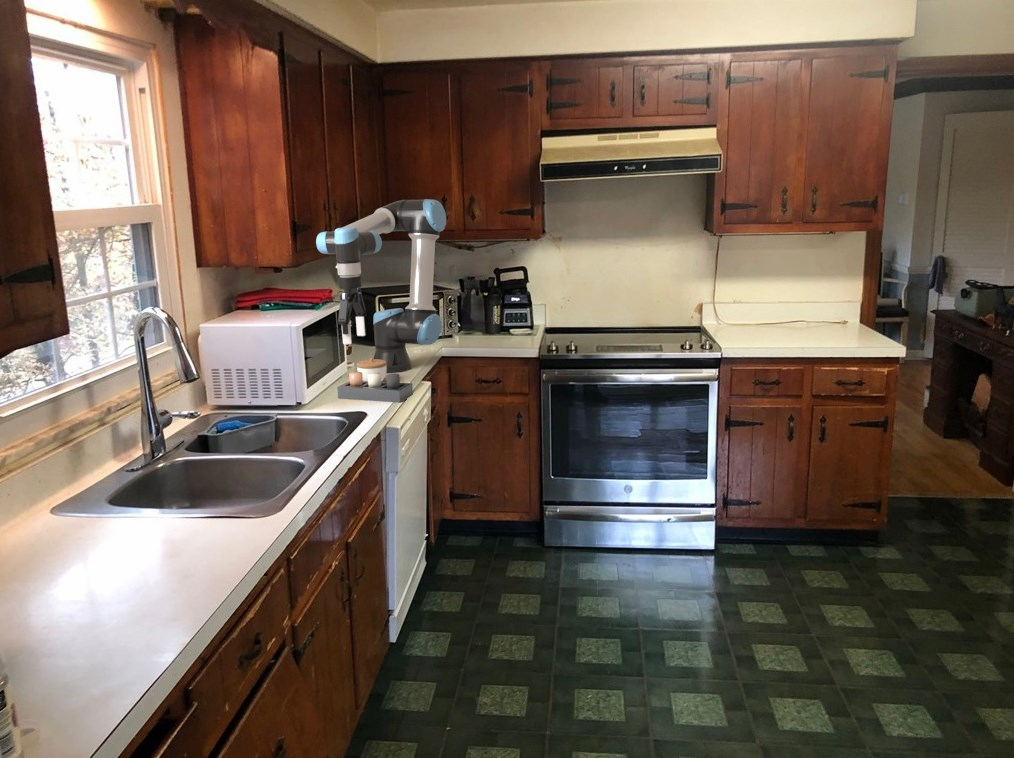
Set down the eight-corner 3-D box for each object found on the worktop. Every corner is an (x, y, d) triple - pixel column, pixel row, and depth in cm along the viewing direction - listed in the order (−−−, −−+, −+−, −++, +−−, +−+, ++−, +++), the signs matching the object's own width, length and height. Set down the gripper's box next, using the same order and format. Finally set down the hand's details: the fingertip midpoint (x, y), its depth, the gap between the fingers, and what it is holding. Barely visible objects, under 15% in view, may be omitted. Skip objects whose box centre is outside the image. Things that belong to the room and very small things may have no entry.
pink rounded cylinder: (354, 385, 272) (353, 371, 271) (365, 386, 271) (364, 372, 270) (347, 388, 268) (346, 374, 267) (359, 389, 267) (358, 375, 266)
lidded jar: (361, 388, 280) (359, 362, 278) (355, 381, 290) (353, 356, 287) (391, 384, 284) (389, 359, 282) (384, 378, 294) (382, 353, 291)
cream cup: (372, 386, 270) (371, 372, 269) (383, 387, 269) (383, 373, 267) (366, 389, 266) (365, 375, 265) (377, 390, 265) (376, 376, 263)
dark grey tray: (352, 391, 276) (352, 379, 275) (412, 394, 269) (412, 383, 268) (338, 398, 267) (337, 386, 266) (399, 402, 260) (399, 390, 259)
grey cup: (390, 387, 268) (389, 373, 267) (402, 388, 266) (401, 374, 265) (384, 390, 264) (383, 376, 263) (396, 391, 262) (395, 377, 261)
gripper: (351, 271, 271) (356, 332, 276) (324, 280, 247) (329, 347, 252) (372, 271, 270) (377, 332, 275) (347, 280, 246) (352, 347, 251)
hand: (354, 339), depth 263 cm, fingers open, 13 cm apart
